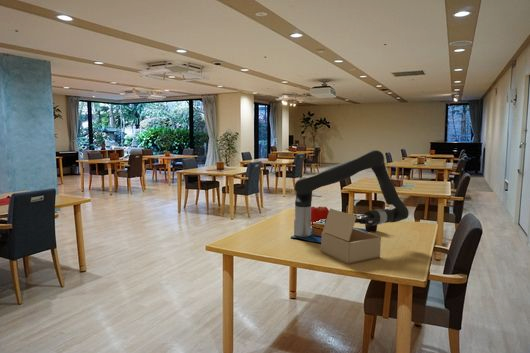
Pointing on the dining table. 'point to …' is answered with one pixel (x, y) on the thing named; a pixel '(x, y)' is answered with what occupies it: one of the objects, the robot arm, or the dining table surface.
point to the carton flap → (339, 224)
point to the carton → (351, 246)
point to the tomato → (319, 213)
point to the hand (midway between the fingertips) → (349, 221)
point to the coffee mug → (371, 228)
